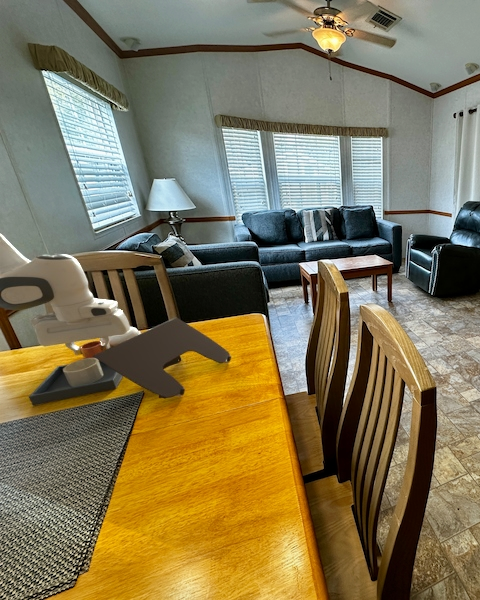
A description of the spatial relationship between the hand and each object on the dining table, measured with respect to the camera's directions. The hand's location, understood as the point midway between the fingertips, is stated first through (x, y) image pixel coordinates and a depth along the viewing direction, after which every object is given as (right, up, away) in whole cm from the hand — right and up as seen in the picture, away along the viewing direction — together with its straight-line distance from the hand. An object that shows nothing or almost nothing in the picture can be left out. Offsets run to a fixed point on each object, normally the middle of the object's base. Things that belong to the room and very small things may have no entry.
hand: (93, 351), depth 98 cm
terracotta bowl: (0, -2, +1) cm, 2 cm away
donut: (0, +2, +10) cm, 10 cm away
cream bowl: (+9, -6, -11) cm, 15 cm away
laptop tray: (+31, -5, -8) cm, 33 cm away
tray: (+9, -6, -11) cm, 15 cm away
